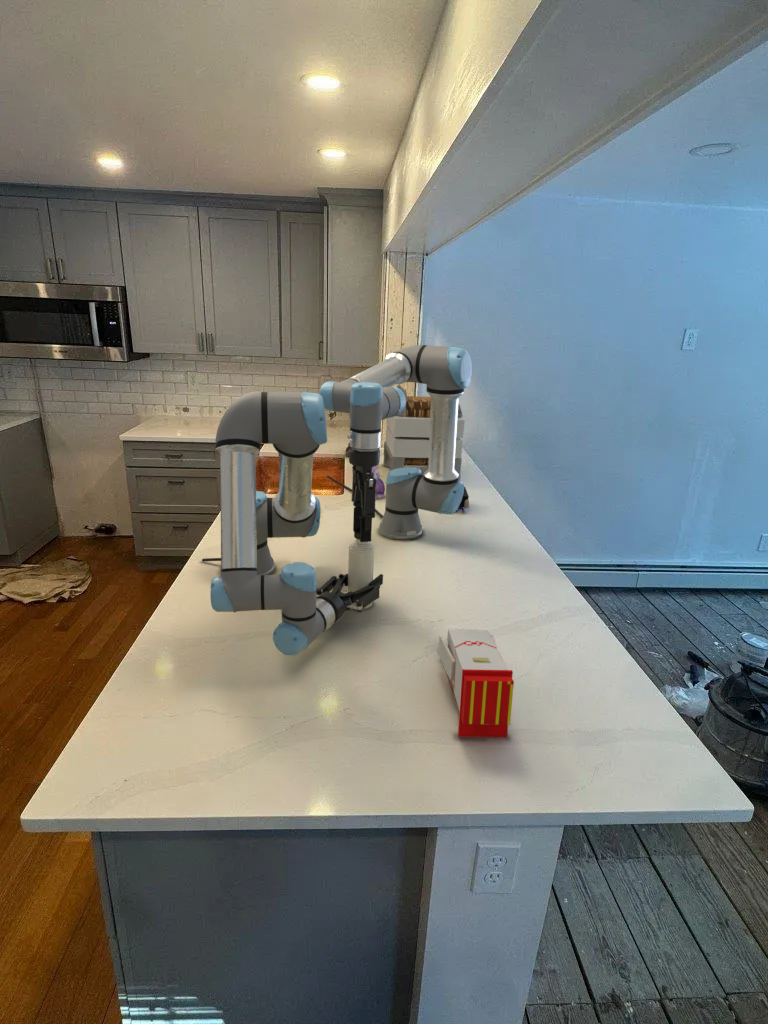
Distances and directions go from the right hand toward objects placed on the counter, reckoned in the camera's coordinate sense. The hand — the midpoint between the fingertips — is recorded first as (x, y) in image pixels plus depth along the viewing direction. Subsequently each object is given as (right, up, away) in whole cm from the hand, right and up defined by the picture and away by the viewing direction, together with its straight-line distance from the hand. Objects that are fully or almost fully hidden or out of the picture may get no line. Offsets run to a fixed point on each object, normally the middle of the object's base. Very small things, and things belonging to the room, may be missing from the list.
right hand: (361, 535), depth 145 cm
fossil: (-9, +38, +160) cm, 165 cm away
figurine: (+2, +13, +92) cm, 93 cm away
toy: (+24, -32, -27) cm, 48 cm away
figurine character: (+36, +8, +83) cm, 91 cm away
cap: (0, +1, 0) cm, 1 cm away
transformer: (+23, +25, +130) cm, 134 cm away
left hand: (+2, -11, +9) cm, 14 cm away
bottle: (-1, -18, +7) cm, 20 cm away
